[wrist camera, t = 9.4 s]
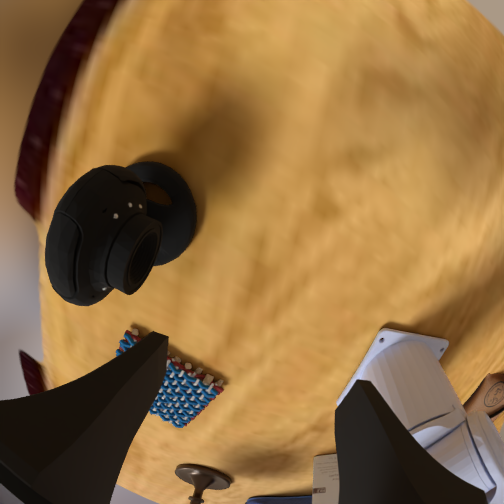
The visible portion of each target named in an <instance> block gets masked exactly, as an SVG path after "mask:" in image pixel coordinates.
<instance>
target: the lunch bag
mask: <svg viewBox="0 0 504 504" xmlns="http://www.w3.org/2000/svg"><path fill="white" fill-rule="evenodd" d="M245 504H312V496H300V497H256V498H250V499H248V500H247V502H246V503H245Z"/></svg>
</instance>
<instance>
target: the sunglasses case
mask: <svg viewBox="0 0 504 504" xmlns="http://www.w3.org/2000/svg"><path fill="white" fill-rule="evenodd" d="M463 408H464V410H465V412H466V414H469V413H471V412H472V411H473V410H477V411H484V412H485V413H486V414H487V415H488V416H489V418H490V419H491V421H492V422H494V420H495V419H496V418H497V417H498V416H499V415H500V414H501V413H502V412H503V411H504V374H490V373H489V374H488V375H487V376H486V377H485V378H484V379H483V381H482V382H481V384H480V385H479V386H478V388H477V389H476V390H475V392H474V393H473V394H472V395H471V397H470V398H469V399H468V400H467V401H466V402H465V403H464V405H463Z"/></svg>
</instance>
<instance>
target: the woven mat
mask: <svg viewBox="0 0 504 504" xmlns="http://www.w3.org/2000/svg"><path fill="white" fill-rule="evenodd" d="M138 335H139V332H138V329H133V331H132V333H131V332H130V331H128V330H126V332H125V334H124V337H125V339H126V340H127V341H128V342H127V341H126V340H124V339H123V340H120V342H119V343H120V347H119V349H117V350H116V353H117V354H116V356H118V355H120V354H121V353H123V351H126V350H127V349H129V348H130V347H132V346H133V345H134V344H136V343H137V342H139V341H140V340H141V338H139V337H138ZM136 341H137V342H136ZM120 349H121V350H123V351H121V350H120ZM169 354H170V352H169V351H168V352H167V366H168V368H167V370H166V375H165V378H164V380H163V383H162V386H161V388H160V390H159V393H158V395H157V397H156V399H155V401H154V402H153V404H152V406H151V408H150V410H149V411H150V414H151V415H152V414H156V416H160V417H161V418H162V419H163V420H162V421H169V423H172V424H173V426H175V427H178V428H183V426H187V423H188V424H189V423H190V421H191V420H194V419H195V417H196V415H199V414H200V413H201V411H202V410H204V409H205V406H206V407H207V406H208V404H209V402H210V401H212V400H214V399H215V398H216V395H219V394H220V392H221V393H222V392H223V390H224V389H223V388H221V387H220V386H221V384H222V383H223V380H221V379H219V380H218V381H217V382H216V383H214V382H213V378H214V377H213V376H211V375H209V374H207V375H200V374H201V372H202V371H203V369H202V368H200V367H198V368H197V369H196V370H195V371H194V372H193V371H191V370H190V369H191V368H192V365H191V363H187V362H186V364H185V365H184V366H183V365H181V364H180V362H181V359H180V358H179V357H177V356H175V358H170V357H168V356H169ZM172 377H173V378H172ZM200 379H202V380H200ZM180 382H181V383H180ZM209 384H210V385H209ZM167 403H168V404H167ZM203 405H204V406H203ZM164 415H165V416H164ZM168 417H169V418H168Z"/></svg>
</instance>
